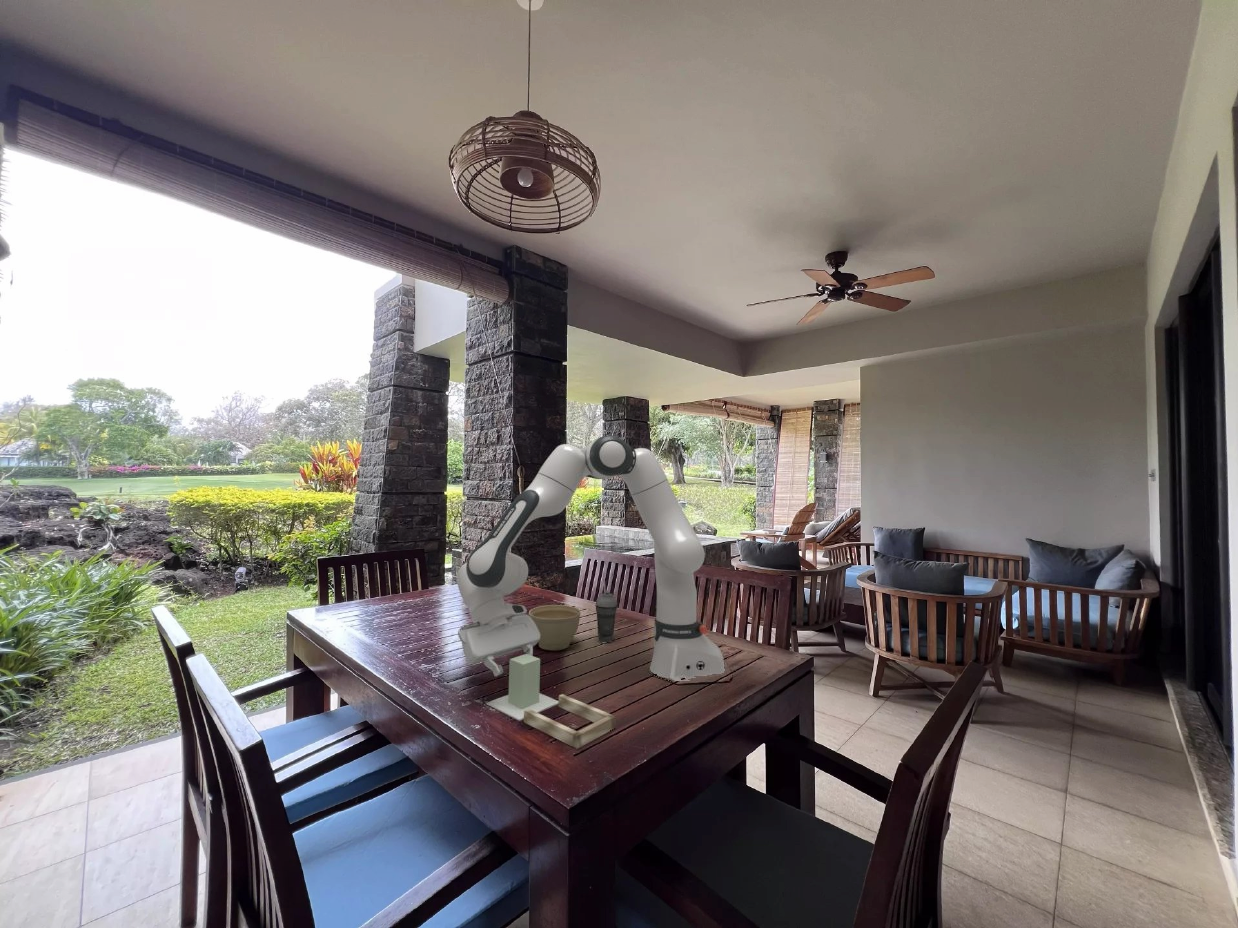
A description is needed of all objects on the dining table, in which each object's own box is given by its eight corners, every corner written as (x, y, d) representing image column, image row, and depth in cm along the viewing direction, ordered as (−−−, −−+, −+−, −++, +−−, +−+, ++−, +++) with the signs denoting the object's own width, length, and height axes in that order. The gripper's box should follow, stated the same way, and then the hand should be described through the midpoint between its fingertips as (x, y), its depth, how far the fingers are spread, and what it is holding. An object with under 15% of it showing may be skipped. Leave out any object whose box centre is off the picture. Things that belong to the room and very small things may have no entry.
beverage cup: (608, 646, 161) (610, 582, 162) (589, 641, 165) (591, 579, 166) (620, 640, 167) (622, 579, 168) (602, 636, 171) (603, 576, 172)
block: (508, 702, 119) (509, 659, 119) (525, 695, 122) (526, 653, 123) (522, 709, 115) (523, 664, 116) (539, 702, 119) (540, 658, 119)
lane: (523, 721, 110) (524, 710, 110) (562, 704, 119) (562, 694, 119) (577, 748, 100) (577, 735, 100) (615, 727, 108) (615, 716, 108)
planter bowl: (518, 644, 161) (519, 609, 161) (560, 635, 172) (560, 602, 172) (547, 658, 149) (548, 621, 149) (590, 647, 160) (591, 612, 160)
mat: (486, 704, 118) (486, 702, 118) (526, 688, 127) (526, 687, 127) (519, 720, 110) (519, 719, 110) (560, 703, 120) (560, 701, 120)
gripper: (461, 619, 118) (484, 673, 111) (529, 604, 134) (554, 651, 127) (449, 635, 121) (472, 688, 114) (518, 618, 136) (541, 664, 130)
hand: (516, 668), depth 121 cm, fingers open, 8 cm apart
